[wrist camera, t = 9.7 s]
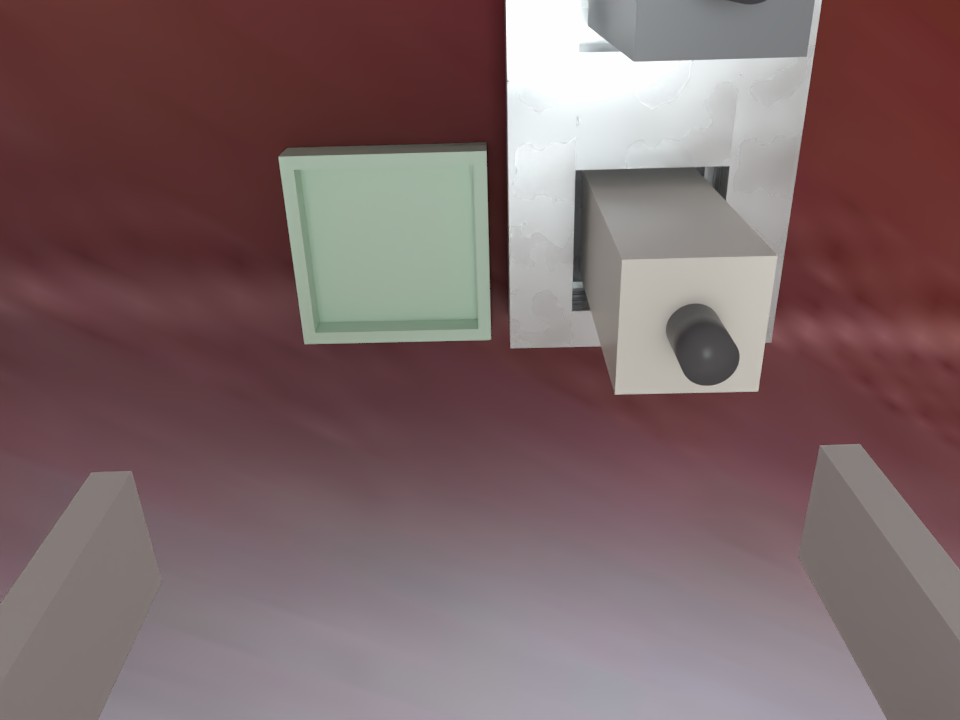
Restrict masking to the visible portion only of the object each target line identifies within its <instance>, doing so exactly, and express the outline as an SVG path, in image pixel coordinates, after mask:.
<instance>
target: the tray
mask: <svg viewBox="0 0 960 720" xmlns="http://www.w3.org/2000/svg"><path fill="white" fill-rule="evenodd" d="M278 158H279V165H280V173H281V180H282V187H283V194H284V201H285V209H286V216H287V223H288V230H289V237H290V244H291V252H292V259H293V266H294V273H295V280H296V287H297V295H298V302H299V309H300V316H301V323H302V330H303V338H304V344H335V343H379V342H423V341H468V340H491V310H490V269H489V228H488V186H487V145H486V142H481V143H444V144H407V145H370V146H333V147H296V148H286V149H285V150H284V151H283V152H282V153H281V154H280V155H279V156H278Z"/></svg>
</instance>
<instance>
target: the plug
mask: <svg viewBox="0 0 960 720" xmlns="http://www.w3.org/2000/svg"><path fill="white" fill-rule="evenodd" d="M777 257H778V256H777V255H776V254H775V252H774V251H773V250H772V249H771V248H770V247H769V246H768V245H767V244H766V243H765V242H764V241H763V240H762V239H761V238H760V237H759V236H758V234H757V233H756V232H755V231H754V230H753V229H752V228H751V227H750V226H749V225H748V224H747V223H746V222H745V221H744V220H743V219H742V218H741V216H740V215H739V214H738V213H737V212H736V211H735V210H734V209H733V208H732V207H731V206H730V205H729V204H728V203H727V202H726V201H725V200H724V198H723V197H722V196H721V195H720V194H719V193H718V192H717V191H716V190H715V189H714V188H713V187H712V186H711V185H710V184H709V183H708V182H707V180H706V179H705V178H704V177H703V176H702V175H701V174H700V173H699V172H698V171H697V170H696V169H695V168H694V167H677V168H639V169H601V170H583V179H582V213H581V247H580V275H581V279H582V282H583V286H584V289H585V293H586V296H587V299H588V303H589V306H590V310H591V313H592V317H593V320H594V324H595V327H596V331H597V334H598V338H599V341H600V345H601V348H602V352H603V355H604V358H605V362H606V365H607V369H608V372H609V376H610V379H611V383H612V386H613V390H614V393H615V394H661V393H708V392H755V391H758V389H759V382H760V375H761V368H762V361H763V354H764V347H765V340H766V333H767V326H768V319H769V312H770V306H771V299H772V292H773V285H774V278H775V271H776V264H777Z"/></svg>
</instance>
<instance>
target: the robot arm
mask: <svg viewBox="0 0 960 720" xmlns="http://www.w3.org/2000/svg"><path fill="white" fill-rule="evenodd" d="M798 558H799V560H800V562H801V563H802V565H803V567H804V569H805V571H806V573H807V574H808V576H809V578H810V580H811V582H812V584H813V585H814V587H815V589H816V591H817V593H818V594H819V596H820V598H821V600H822V602H823V604H824V605H825V607H826V609H827V611H828V613H829V614H830V616H831V618H832V620H833V622H834V624H835V625H836V627H837V629H838V631H839V633H840V635H841V636H842V638H843V640H844V642H845V644H846V645H847V647H848V649H849V651H850V653H851V655H852V656H853V658H854V660H855V662H856V664H857V666H858V667H859V669H860V671H861V673H862V675H863V676H864V678H865V680H866V682H867V684H868V686H869V687H870V689H871V691H872V693H873V695H874V696H875V698H876V700H877V702H878V704H879V706H880V707H881V709H882V711H883V713H884V715H885V717H886V718H887V720H960V569H959V568H958V567H957V566H956V564H955V563H954V562H953V561H952V559H951V558H950V557H949V556H948V554H947V553H946V552H945V551H944V549H943V548H942V547H941V545H940V544H939V543H938V542H937V540H936V539H935V538H934V537H933V535H932V534H931V533H930V532H929V530H928V529H927V528H926V527H925V525H924V524H923V523H922V522H921V520H920V519H919V518H918V517H917V515H916V514H915V513H914V512H913V510H912V509H911V508H910V506H909V505H908V504H907V503H906V501H905V500H904V499H903V498H902V496H901V495H900V494H899V493H898V491H897V490H896V489H895V488H894V486H893V485H892V484H891V483H890V481H889V480H888V479H887V478H886V476H885V475H884V474H883V472H882V471H881V470H880V469H879V467H878V466H877V465H876V464H875V462H874V461H873V460H872V459H871V457H870V456H869V455H868V454H867V452H866V451H865V450H864V449H863V447H862V446H861V445H860V444H847V445H820V448H819V453H818V458H817V463H816V468H815V474H814V479H813V484H812V489H811V494H810V499H809V505H808V510H807V515H806V520H805V525H804V530H803V535H802V541H801V546H800V551H799V556H798ZM161 582H162V580H161V576H160V573H159V569H158V565H157V562H156V558H155V554H154V551H153V547H152V544H151V540H150V536H149V533H148V529H147V525H146V522H145V518H144V514H143V511H142V507H141V503H140V500H139V496H138V492H137V489H136V485H135V481H134V478H133V474H132V471H115V472H91V473H90V475H89V476H88V478H87V479H86V481H85V482H84V484H83V485H82V487H81V488H80V489H79V491H78V492H77V494H76V495H75V497H74V498H73V500H72V501H71V502H70V504H69V505H68V507H67V508H66V510H65V511H64V513H63V514H62V515H61V517H60V518H59V520H58V521H57V523H56V524H55V526H54V527H53V528H52V530H51V531H50V533H49V534H48V536H47V537H46V539H45V540H44V542H43V543H42V544H41V546H40V547H39V549H38V550H37V552H36V553H35V555H34V556H33V557H32V559H31V560H30V562H29V563H28V565H27V566H26V568H25V569H24V570H23V572H22V573H21V575H20V576H19V578H18V579H17V581H16V582H15V583H14V585H13V586H12V588H11V589H10V591H9V592H8V594H7V595H6V597H5V598H4V599H3V601H2V602H1V604H0V720H98V718H99V716H100V714H101V712H102V710H103V708H104V705H105V703H106V701H107V699H108V697H109V695H110V693H111V690H112V688H113V686H114V684H115V682H116V680H117V677H118V675H119V673H120V671H121V669H122V667H123V664H124V662H125V660H126V658H127V656H128V654H129V652H130V649H131V647H132V645H133V643H134V641H135V639H136V636H137V634H138V632H139V630H140V628H141V626H142V623H143V621H144V619H145V617H146V615H147V613H148V610H149V608H150V606H151V604H152V602H153V600H154V598H155V595H156V593H157V591H158V589H159V587H160V585H161Z"/></svg>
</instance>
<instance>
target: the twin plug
mask: <svg viewBox="0 0 960 720" xmlns="http://www.w3.org/2000/svg"><path fill="white" fill-rule="evenodd" d="M814 3H815V0H588V27H589V28H591V29H592V30H593V31H595V32H596V33H597V34H598V35H600V36H601V37H602V38H604V39H605V40H606V41H607V42H609V43H610V44H611V45H613V46H614V47H615V48H616V49H618V50H619V51H620V52H622V53H623V54H624V55H625V56H627V57H628V58H629V59H631V60H632V61H633V62H647V61H681V60H716V59H751V58H786V57H807V52H808V45H809V38H810V31H811V24H812V17H813V10H814Z"/></svg>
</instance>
